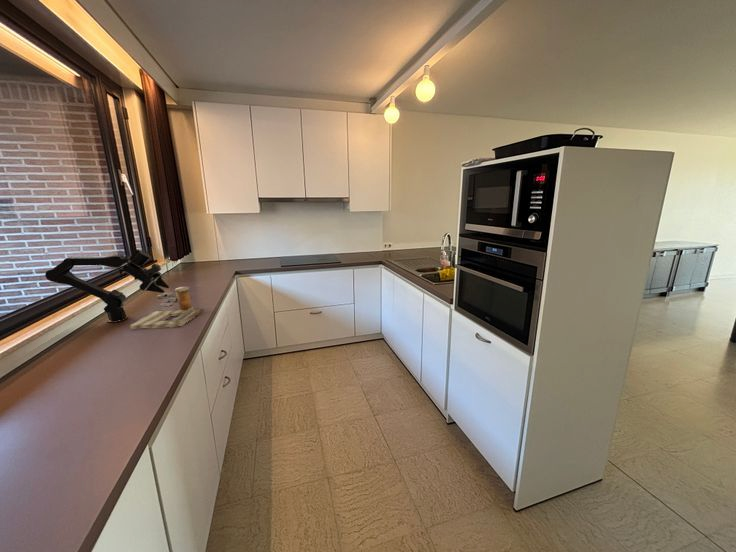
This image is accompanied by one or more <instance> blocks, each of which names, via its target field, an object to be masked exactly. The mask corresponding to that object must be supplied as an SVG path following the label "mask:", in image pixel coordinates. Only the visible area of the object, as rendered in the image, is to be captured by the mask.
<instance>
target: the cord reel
mask: <svg viewBox="0 0 736 552" xmlns="http://www.w3.org/2000/svg"><path fill="white" fill-rule="evenodd" d="M189 289H190V286H179V287H176V288H175V293H176V292H177V296H178V300H177V301H178V305H179V311H180V310H188V309H189V308H194V307H193V306H192V301H191V297H190V290H189Z"/></svg>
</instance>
